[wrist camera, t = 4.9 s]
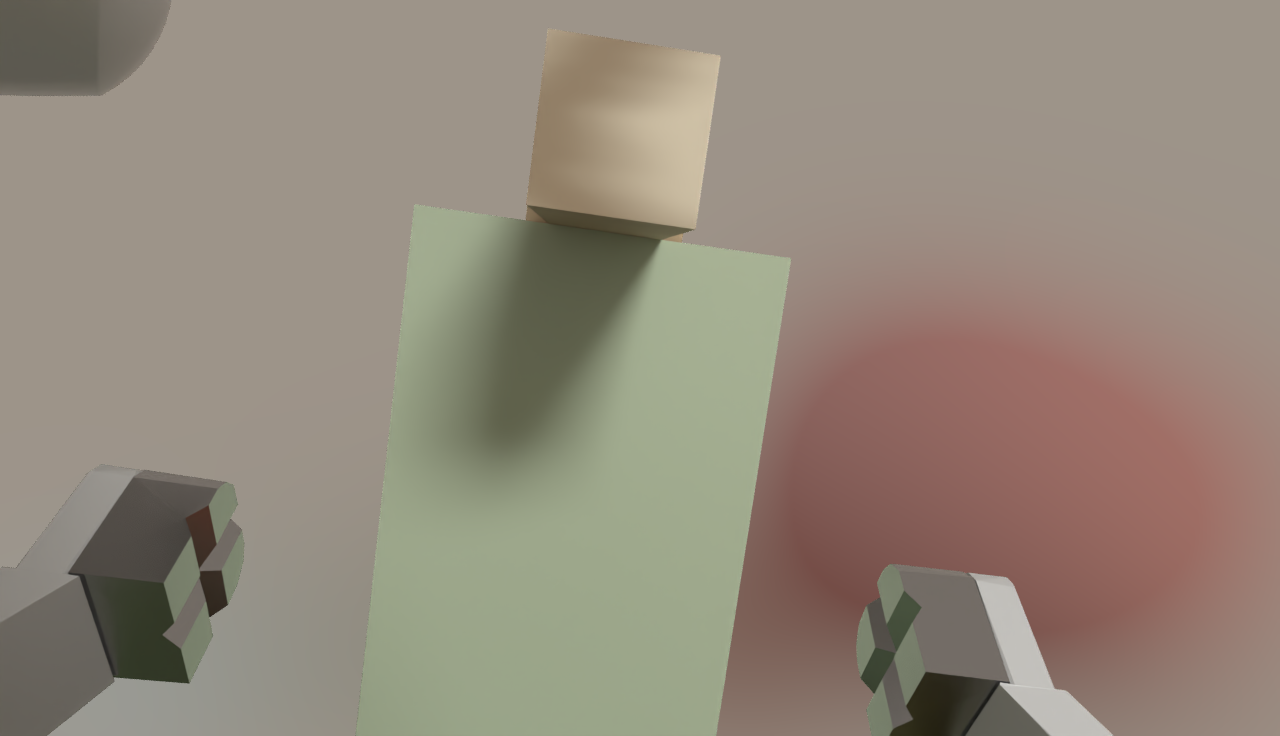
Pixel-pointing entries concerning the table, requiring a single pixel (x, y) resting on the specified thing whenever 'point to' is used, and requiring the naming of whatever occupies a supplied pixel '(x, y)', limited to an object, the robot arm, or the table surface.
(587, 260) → the pedestal
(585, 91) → the block
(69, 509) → the robot arm
